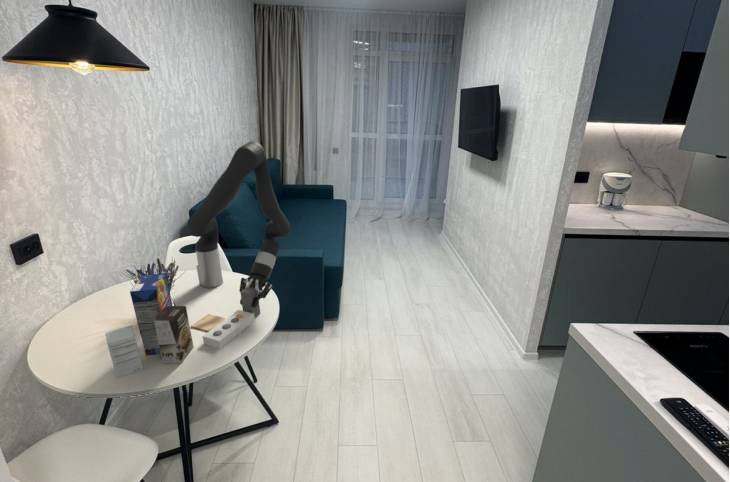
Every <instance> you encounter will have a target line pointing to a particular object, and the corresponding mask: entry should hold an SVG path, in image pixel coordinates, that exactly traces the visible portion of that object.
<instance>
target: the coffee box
mask: <svg viewBox="0 0 730 482" xmlns="http://www.w3.org/2000/svg"><path fill="white" fill-rule="evenodd" d="M154 324H155V328H156V333H157V338H158V342H159V347H160V351H161V354H160V355H161V361H162V363H163V364H178V365H179V364H182V363H183V362H184V361H185V359H186V358H187V357H188V356H189V354H190V352H191V351H192V350H193V349H194V342H193V336H192V331H191V325H190V320H189V316H188V310H187V306H186V305H172V306H168V307H167V308H166V309H165V310H164V311H163V312H162V313H161V314H160V315H159V316H158V317H157V318H156V319H155V320H154Z"/></svg>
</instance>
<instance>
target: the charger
mask: <svg viewBox="0 0 730 482" xmlns="http://www.w3.org/2000/svg"><path fill="white" fill-rule="evenodd" d="M239 293H240V300H242V305H241V306H242V311H245V312H249V313H253V314H254V317H255V318H257V317H258V316H259V315H260V314H261V307H260V301H259V302H258V305H257V306H256V307H255V308H253V307H251V304H252V302H253V299H254V297H255V294H256V289H255V288H252V287H247V288H245V289H244V290H242V291H241V292H240V291H239Z"/></svg>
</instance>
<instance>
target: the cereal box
mask: <svg viewBox="0 0 730 482" xmlns="http://www.w3.org/2000/svg"><path fill="white" fill-rule="evenodd" d="M129 294H130V298H131V301H132V305H133V309H134V313H135V317H136V322H137V325H138V330H139V333H140V338H141V341H142V342H141V343H142V346H143V350H144V355H145V357H150V356H157V355H161V351H160V347H159V342H158V338H157V333H156V328H155V324H154V320H155V319H156V318H157V317H158V316H159V315H160V314H161V313H162V312H163V311H164V310H165V309H166V308H167V307H168V306H173V302H172V299H171V297H172V296H171V292H170V287H169V282H168V278H167V274H166V273H165V272H164V273H156V274H145V275H141V276H140V277H139V278H138V280H137V281H136V283H135V284H133V287H132V288H131V290H130V291H129Z"/></svg>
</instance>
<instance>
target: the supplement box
mask: <svg viewBox="0 0 730 482" xmlns="http://www.w3.org/2000/svg"><path fill="white" fill-rule="evenodd" d="M105 338H106V344H107V349H108V351H109V354H110V358H111V362H112V365H113V368H114V369H113V370H114V372H115V376H116V378H118V377H119V378H122V377H124V375H125V376H128V375H130V374H133V373H137V372H139V371H142V370H143V369H144V366H143V360H142V357H141V353H140V348H139V345H138V341H137V337H136V334H135V331H134V328H133V325H128V326H124V327H121V328H118V329H115V330H111V331H108V332H105ZM127 374H128V375H127Z"/></svg>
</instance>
